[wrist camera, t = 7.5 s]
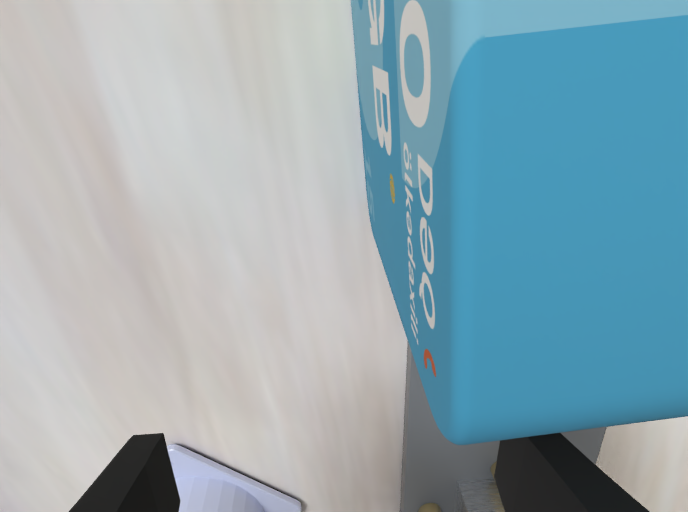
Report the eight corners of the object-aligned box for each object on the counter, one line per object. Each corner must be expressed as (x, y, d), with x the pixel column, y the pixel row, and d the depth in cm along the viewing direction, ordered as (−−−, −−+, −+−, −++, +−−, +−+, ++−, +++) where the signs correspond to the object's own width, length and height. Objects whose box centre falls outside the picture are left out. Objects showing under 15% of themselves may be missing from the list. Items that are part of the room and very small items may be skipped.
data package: (336, -162, 13) (463, -1022, 2) (492, -178, 13) (1263, -1071, 3) (368, 225, 18) (454, 492, 8) (480, 212, 19) (722, 457, 8)
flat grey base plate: (551, 579, 30) (581, 645, 26) (396, 593, 29) (407, 662, 26) (631, 294, 21) (691, 342, 17) (409, 306, 20) (428, 358, 17)
